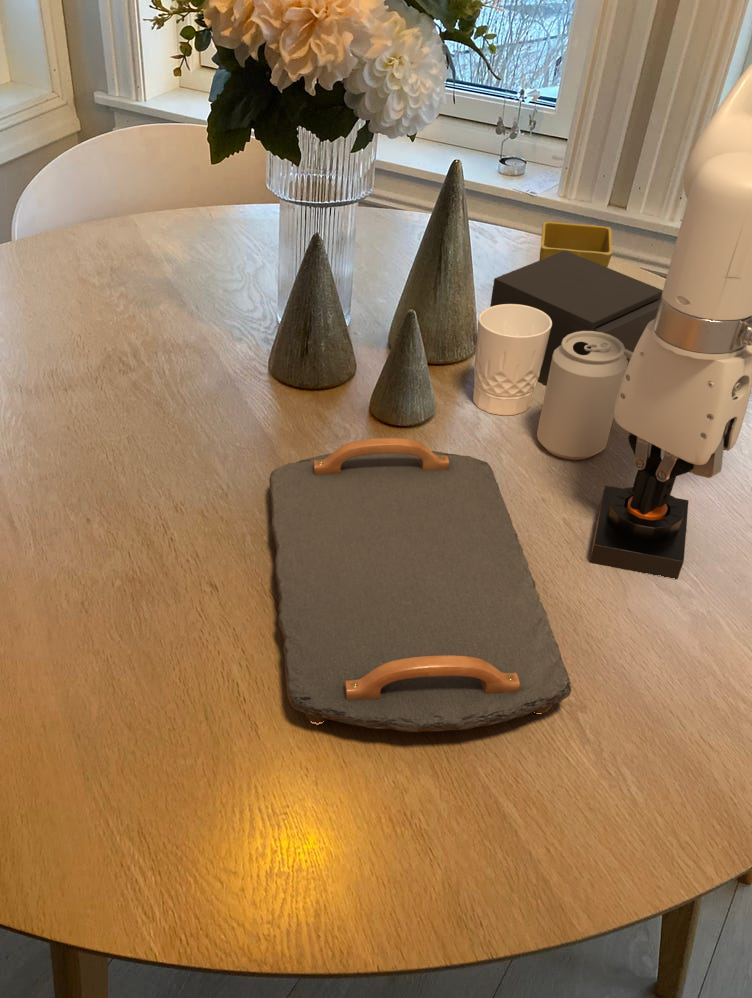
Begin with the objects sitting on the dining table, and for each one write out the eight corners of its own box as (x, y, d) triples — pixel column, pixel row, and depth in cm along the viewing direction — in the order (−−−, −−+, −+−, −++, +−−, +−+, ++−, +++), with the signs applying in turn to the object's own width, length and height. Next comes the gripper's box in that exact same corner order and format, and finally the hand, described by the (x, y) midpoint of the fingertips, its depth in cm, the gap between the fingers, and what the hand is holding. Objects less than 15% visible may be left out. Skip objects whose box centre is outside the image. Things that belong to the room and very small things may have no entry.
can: (535, 423, 112) (555, 323, 103) (604, 429, 110) (630, 329, 102) (534, 460, 106) (555, 357, 98) (606, 467, 105) (634, 364, 97)
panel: (600, 503, 101) (609, 470, 98) (682, 518, 99) (693, 484, 96) (589, 562, 94) (598, 529, 91) (677, 580, 92) (689, 546, 89)
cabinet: (643, 366, 120) (664, 290, 114) (575, 400, 115) (593, 322, 108) (550, 323, 129) (564, 250, 122) (483, 353, 123) (494, 278, 117)
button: (625, 505, 96) (629, 490, 95) (664, 512, 95) (668, 497, 94) (622, 527, 94) (626, 512, 93) (661, 534, 93) (666, 519, 92)
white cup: (536, 421, 112) (553, 339, 105) (466, 416, 113) (477, 334, 106) (535, 386, 117) (551, 306, 110) (468, 381, 118) (479, 301, 112)
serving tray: (580, 744, 78) (597, 690, 74) (287, 758, 77) (287, 704, 73) (481, 465, 106) (489, 414, 101) (264, 474, 105) (263, 423, 101)
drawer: (680, 378, 117) (699, 316, 111) (618, 411, 112) (635, 347, 106) (562, 324, 127) (575, 264, 121) (501, 351, 122) (511, 290, 116)
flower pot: (597, 292, 135) (612, 225, 129) (597, 321, 129) (613, 253, 123) (531, 286, 137) (543, 220, 130) (528, 315, 131) (540, 247, 124)
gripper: (814, 342, 78) (740, 528, 91) (655, 278, 87) (608, 456, 99) (759, 371, 75) (690, 560, 87) (600, 302, 83) (558, 483, 96)
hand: (647, 505), depth 93 cm, fingers closed
